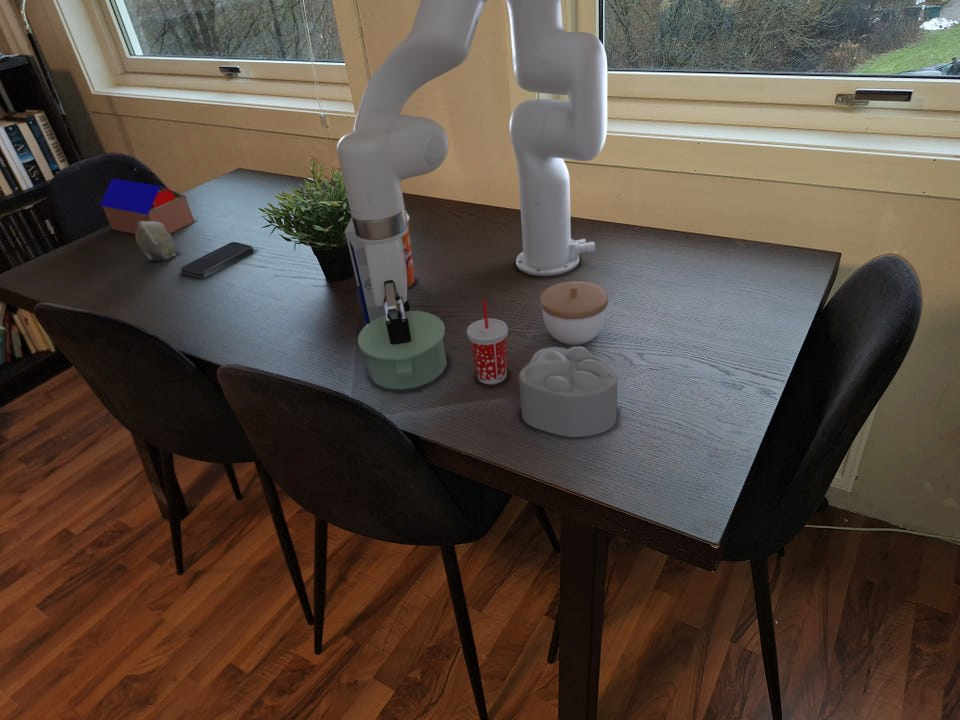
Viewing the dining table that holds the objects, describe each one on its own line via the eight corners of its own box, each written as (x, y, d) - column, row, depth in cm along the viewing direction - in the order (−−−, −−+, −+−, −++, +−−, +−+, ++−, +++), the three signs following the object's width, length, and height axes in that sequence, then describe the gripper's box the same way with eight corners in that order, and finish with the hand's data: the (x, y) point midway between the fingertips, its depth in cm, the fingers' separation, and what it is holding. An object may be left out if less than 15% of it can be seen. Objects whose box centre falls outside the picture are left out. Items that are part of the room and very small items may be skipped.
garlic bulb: (167, 272, 153) (147, 242, 144) (136, 265, 154) (115, 234, 146) (189, 245, 158) (172, 213, 149) (160, 237, 159) (141, 206, 151)
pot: (443, 333, 114) (438, 302, 111) (451, 395, 100) (445, 361, 96) (371, 343, 114) (364, 312, 110) (368, 407, 99) (360, 374, 96)
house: (157, 239, 164) (139, 194, 157) (110, 229, 173) (91, 186, 167) (196, 221, 172) (180, 177, 165) (149, 212, 181) (132, 170, 175)
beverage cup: (503, 362, 105) (496, 285, 98) (517, 383, 101) (511, 304, 93) (467, 372, 104) (457, 295, 96) (479, 394, 99) (470, 314, 91)
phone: (254, 246, 151) (200, 274, 141) (255, 251, 152) (201, 279, 142) (232, 241, 155) (178, 268, 145) (234, 245, 156) (180, 272, 146)
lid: (442, 311, 109) (437, 278, 106) (448, 356, 98) (443, 321, 95) (360, 322, 109) (353, 290, 106) (357, 369, 98) (348, 335, 94)
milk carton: (375, 314, 122) (352, 213, 111) (410, 312, 122) (392, 209, 110) (368, 335, 116) (344, 230, 105) (405, 332, 116) (385, 227, 105)
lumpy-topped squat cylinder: (544, 381, 100) (542, 333, 95) (627, 401, 94) (629, 351, 90) (514, 422, 93) (510, 373, 88) (601, 447, 87) (602, 395, 82)
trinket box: (591, 361, 103) (591, 310, 98) (531, 346, 109) (528, 296, 103) (617, 328, 111) (618, 278, 105) (560, 315, 116) (558, 267, 110)
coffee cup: (413, 294, 127) (400, 222, 119) (373, 293, 129) (358, 222, 121) (425, 274, 134) (413, 204, 125) (387, 273, 136) (373, 204, 127)
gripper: (356, 204, 100) (377, 302, 109) (350, 252, 85) (375, 361, 95) (405, 197, 100) (422, 296, 110) (408, 244, 86) (427, 353, 95)
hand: (400, 326), depth 102 cm, fingers open, 8 cm apart
